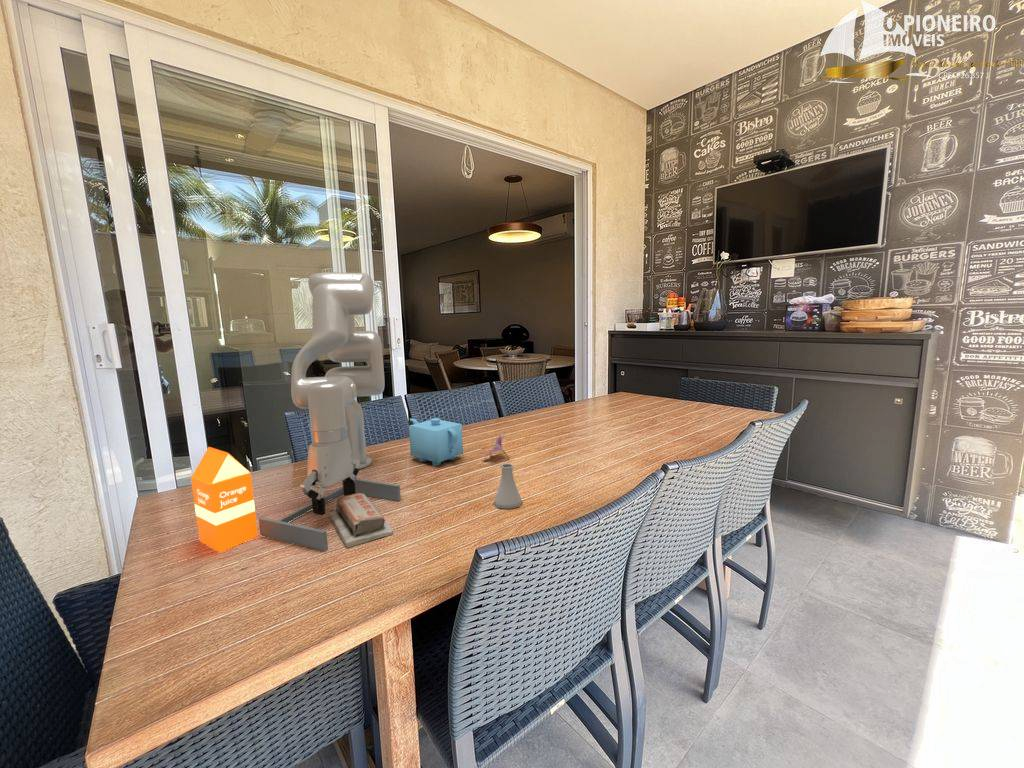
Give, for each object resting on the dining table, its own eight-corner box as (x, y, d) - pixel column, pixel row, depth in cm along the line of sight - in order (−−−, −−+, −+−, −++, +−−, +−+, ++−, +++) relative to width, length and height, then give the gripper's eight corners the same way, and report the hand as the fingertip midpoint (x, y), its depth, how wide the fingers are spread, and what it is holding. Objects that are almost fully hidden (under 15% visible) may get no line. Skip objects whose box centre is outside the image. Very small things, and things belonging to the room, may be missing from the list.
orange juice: (219, 553, 85) (206, 458, 82) (199, 542, 90) (186, 451, 87) (259, 536, 92) (248, 447, 89) (238, 526, 97) (227, 441, 94)
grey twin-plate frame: (260, 536, 92) (258, 518, 92) (345, 490, 116) (344, 476, 115) (324, 551, 86) (323, 532, 85) (400, 499, 109) (399, 485, 109)
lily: (505, 454, 148) (491, 431, 147) (527, 447, 140) (513, 423, 139) (484, 474, 140) (468, 449, 139) (506, 468, 131) (490, 442, 130)
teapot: (469, 460, 139) (467, 419, 137) (444, 470, 130) (442, 426, 128) (424, 448, 152) (422, 410, 150) (399, 456, 144) (396, 417, 141)
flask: (492, 498, 110) (491, 461, 108) (520, 496, 110) (520, 459, 109) (494, 510, 103) (493, 471, 101) (523, 509, 103) (523, 469, 102)
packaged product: (326, 497, 101) (369, 488, 106) (328, 516, 101) (370, 506, 107) (344, 527, 86) (393, 514, 91) (346, 550, 87) (394, 536, 92)
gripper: (343, 424, 107) (349, 489, 110) (285, 444, 91) (292, 518, 94) (367, 427, 104) (372, 493, 107) (311, 447, 88) (318, 524, 91)
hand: (335, 505), depth 100 cm, fingers open, 9 cm apart
